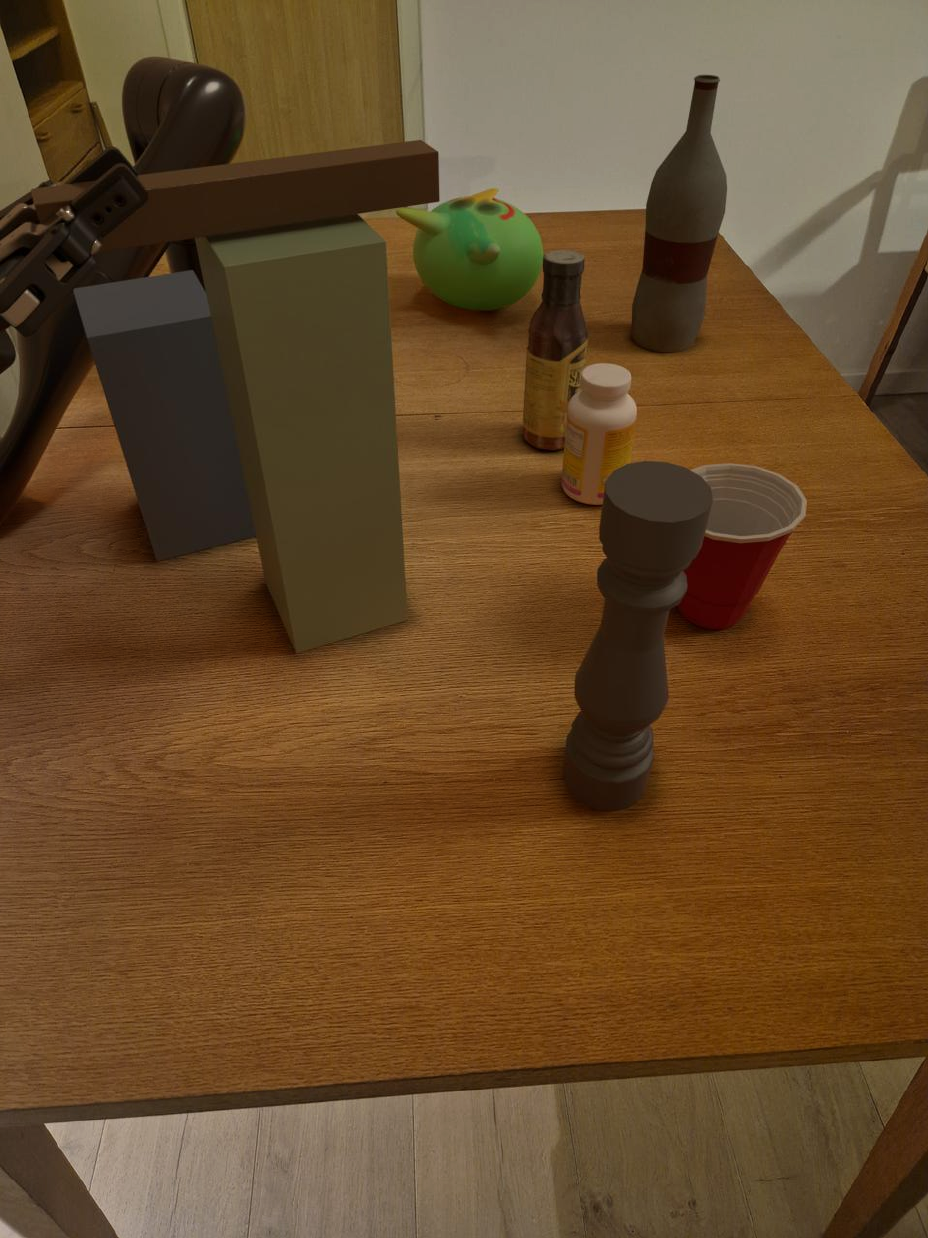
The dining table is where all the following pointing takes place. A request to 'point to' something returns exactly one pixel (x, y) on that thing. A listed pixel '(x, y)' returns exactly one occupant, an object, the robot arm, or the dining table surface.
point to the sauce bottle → (555, 351)
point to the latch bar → (266, 193)
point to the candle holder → (632, 628)
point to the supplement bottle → (597, 431)
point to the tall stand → (314, 418)
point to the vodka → (681, 232)
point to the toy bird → (476, 251)
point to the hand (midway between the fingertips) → (131, 170)
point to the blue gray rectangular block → (169, 409)
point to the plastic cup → (738, 541)
